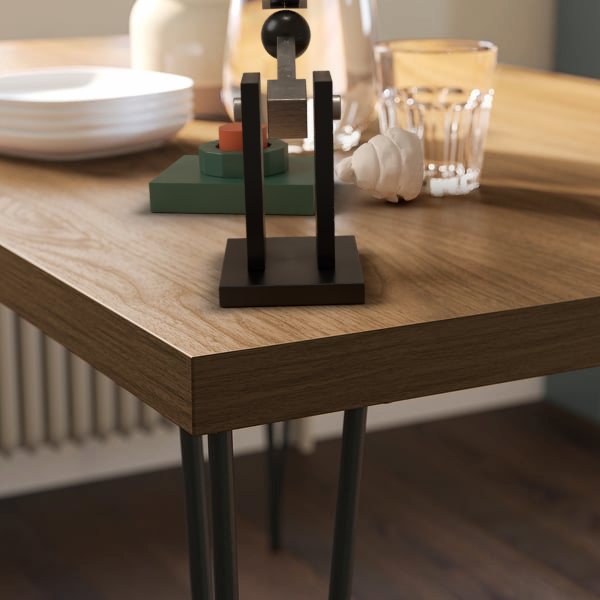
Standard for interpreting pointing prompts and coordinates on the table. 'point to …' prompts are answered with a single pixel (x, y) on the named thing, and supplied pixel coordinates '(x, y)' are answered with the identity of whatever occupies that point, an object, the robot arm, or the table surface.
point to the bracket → (290, 250)
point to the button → (236, 137)
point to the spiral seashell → (386, 165)
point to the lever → (286, 74)
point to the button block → (234, 182)
